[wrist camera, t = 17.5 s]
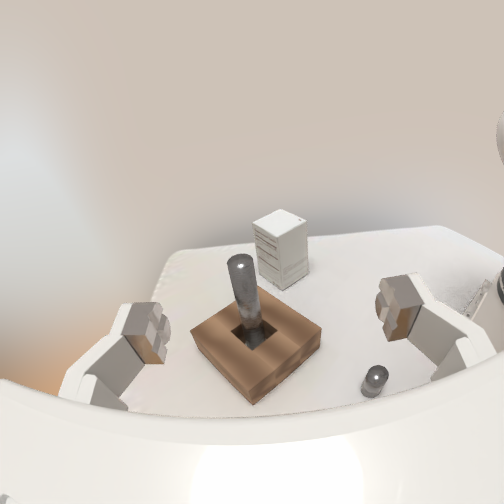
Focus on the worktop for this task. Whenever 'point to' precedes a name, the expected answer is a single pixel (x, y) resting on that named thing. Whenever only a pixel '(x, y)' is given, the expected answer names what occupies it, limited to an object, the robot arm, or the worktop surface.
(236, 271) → the long pin
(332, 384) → the worktop surface
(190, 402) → the worktop surface
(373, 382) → the short pin
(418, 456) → the robot arm
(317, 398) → the worktop surface
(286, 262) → the supplement box
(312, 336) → the collar block
